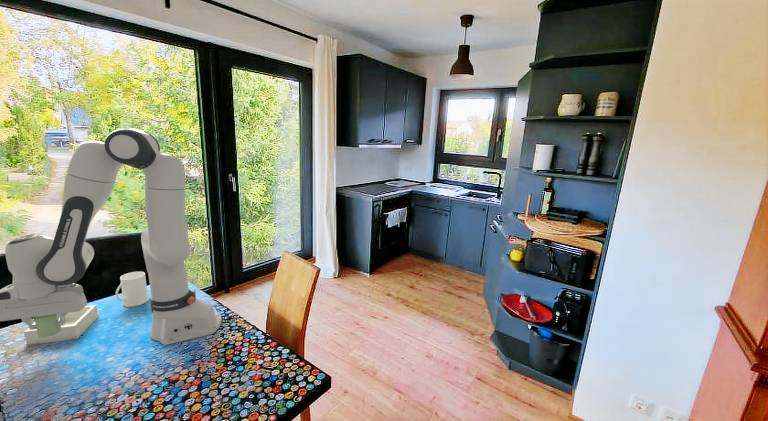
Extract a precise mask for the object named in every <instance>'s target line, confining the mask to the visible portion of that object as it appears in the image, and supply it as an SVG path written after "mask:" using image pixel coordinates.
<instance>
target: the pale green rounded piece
mask: <svg viewBox="0 0 768 421" xmlns="http://www.w3.org/2000/svg"><path fill="white" fill-rule="evenodd" d="M58 319H59V318H58V314H54V315H46V316H38V317H33V320H34V322H35V326H36V329H37V333H38V336H39V337H41V338H43V337H49V336H52V335H54V334H57V333H58V332H60V331H61V326H57V324H56V321H57V320H58Z"/></svg>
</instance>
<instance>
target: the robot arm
mask: <svg viewBox="0 0 768 421" xmlns="http://www.w3.org/2000/svg"><path fill="white" fill-rule="evenodd" d="M160 146H161V145H160V143H159V142H158V139H157V138H156V137H154V136H153V135H152V134H150V133H149V132H145V131H142V130H139V129H135V128H119V129H115V130H113V131H111V132H110V133H109V134H108V135H106V138H105V140H104V142H101V141H95V140H91V141H83V142H81V143H80V144H78V146H77V148H76V149H75V150H74V152H73V154H72V156H71V158H70V161H69V164H68V167H67V170H66V174H65V179H64V184H63V185H64V186H63V192H62V193H63V196H62V205H61V206H62V207H61V214H60V217H59V222H58V225H57V228H56V231H55V236H54V237H51V236H48V235H45V234H43V233H31V234H26V235H22V236H20V237H17V238H14V239H12V240H11V241H10V242H8V243H7V244H6V245H5V251H4V252H5V259H6V265H7V269H8V271H9V272H10V273H11V275H12V283H11V284H8V285H6V286H4V287H2V288H1V289H0V322H6V321H15V320H20V319H21V322H22V323H24V324H25V325H27V326H28V328H30V330H33V329H36V326H35V322H34V318H35V317H38V316H46V315H54V314H58V316H61V318H60V319H58V320H57V321H56V324H57V326H62V325H64V324H65V323H66V320H65V318H66V316H67V314H68V313H69V312H77V311H81V310H82V309H83V308H84V307H85V306H88V300H87V298H86V295H85V293H84V288H83V286H82V285H81V284H78V283H77V282H78V281H80V280H81V279H82V278H83V277H84V275H85V272H86V271H87V269H88V267H89V265H90V264H91V262H92V260H93V259H94V257H95V249H94V247H93V246H92V244H90V243H89V242H87V241H86V238H87V235H88V231H89V229H90V225H91V223H92V221H93V220H94V217H96V215H97V214H98V213H99V212H100V210H101V209H102V208H103V206H104V205H105V204H106V203H107V201H108V200H109V198H110V197H111V194H112V192H113V190H114V187H115V183H116V180H117V176H118V172H119V170H120V168H121V167H122V166H123V165H125V166H128V167H132V168H135V169H138V170H142V172H143V173H144V212H145V218H146V224H147V226H146V227H145V228H144V229H143V231H142V232H141V236H140V242H141V247H142V252H143V258H144V262H145V263H144V264H145V267H146V271H147V274H148V280H149V287H150V288H149V289H150V298H149V300H150V301H149V306H150V309H151V313H152V321H151V322H152V323H151V328H150V329H151V330H150V333H149V337H150V338H151V339H152V340H153V341H157V342H160V343H161V344H162V345H163V346H167V345H172V344H177V343H180V342H185V341H188V340H192V339H197V338H200V337H201V338H202V337H206V336H209V335H210V336H211V335H213V334H214V333H215V332H216V331H217V330H218V329H219V328H220V326H221V324H222V315H221V313H220V312H218V311H216V312H215V310H214V308H213V305H212V304H211V303H209V302H206V301H204V300H201V299H199V298H196V297H197V296H196V289H194V290H193V291H192V290H191V289H189V280H188V279H189V278H188V270H187V268H186V264H185V261H186V260H187V259H188V257H189V256H190V254H191V251H192V250H191V249H192V248H191V245H190V241H189V231H188V230H189V229H188V222H187V218H186V217H187V216H186V176H185V169H184V164H183V162H182V161H181V159H180V158H179V157H177V156H175V155H173V154H168V153H163V152H162V151H161V147H160Z"/></svg>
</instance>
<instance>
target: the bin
mask: <svg viewBox="0 0 768 421" xmlns="http://www.w3.org/2000/svg"><path fill="white" fill-rule="evenodd" d="M58 318H59V319H60V318H61V316H58ZM98 318H99V312H98V306H97V305H96V304H91V305H86V306H85V307H84V308H83V309H82V310H81V311H77V312H69V313H68V314H67V316H66V318H65V320H66V323H65V324H64V325H62V326H61V331H60V332H58V333H57V334H54V335H52V336H49V337H43V338H41V337H39V336H38V333H37V329H33V330H30V328H29V327H28V328H27V329H25V330H24V331H23V334H24V338H25V343H26V346H31V345H39V344H48V343H55V342H62V341H63V342H64V341H70V340H77V339H79V337H81V335H82V334H84V332H86V330H87V329H88V328H89V327H90V326H91V325H92V324H93V323H94V322H95V321H96V320H97V319H98Z"/></svg>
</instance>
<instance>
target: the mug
mask: <svg viewBox="0 0 768 421" xmlns="http://www.w3.org/2000/svg"><path fill="white" fill-rule="evenodd" d="M119 280H120V284H119V285H118V286H117V288H116V290H115V298H116V299H117V300H118V301H119V302H123V303H122V305H123V307H127V308H128V307H129V308H131V307H133V308H134V307H138V306H141V305H143V304H146V303H147V302H148V301H149V300H150V298H149V293H148V287H147V279H146V273H145V272H144V271H131V272H128V273H124V274H123V275H121V276H120V277H119ZM120 289H121V293H122V298H120V297H119V291H120Z"/></svg>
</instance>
